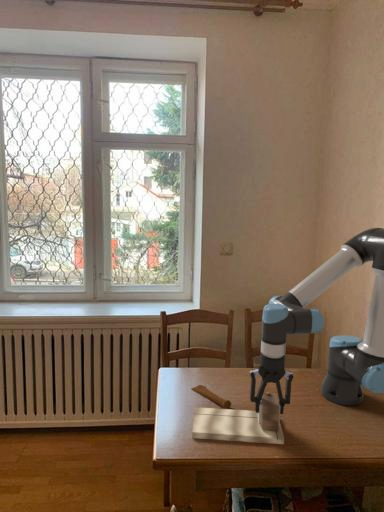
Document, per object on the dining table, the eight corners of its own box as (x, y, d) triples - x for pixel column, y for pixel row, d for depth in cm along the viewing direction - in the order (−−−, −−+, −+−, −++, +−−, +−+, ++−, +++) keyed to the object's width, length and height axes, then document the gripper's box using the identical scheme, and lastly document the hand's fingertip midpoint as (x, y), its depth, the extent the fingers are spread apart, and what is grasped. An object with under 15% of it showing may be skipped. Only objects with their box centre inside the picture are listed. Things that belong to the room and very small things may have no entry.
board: (277, 417, 130) (277, 412, 130) (283, 444, 117) (284, 438, 116) (194, 412, 132) (195, 407, 132) (192, 438, 118) (192, 432, 118)
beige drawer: (274, 415, 127) (276, 391, 126) (278, 430, 119) (279, 405, 118) (259, 414, 127) (260, 390, 126) (261, 429, 120) (263, 404, 118)
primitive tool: (190, 390, 148) (190, 381, 148) (200, 385, 152) (201, 377, 151) (224, 412, 133) (225, 403, 133) (235, 407, 137) (236, 398, 136)
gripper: (299, 350, 123) (294, 416, 126) (242, 347, 124) (239, 413, 128) (304, 360, 115) (299, 430, 119) (244, 357, 116) (240, 427, 120)
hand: (268, 421), depth 123 cm, fingers closed on beige drawer, 5 cm apart
